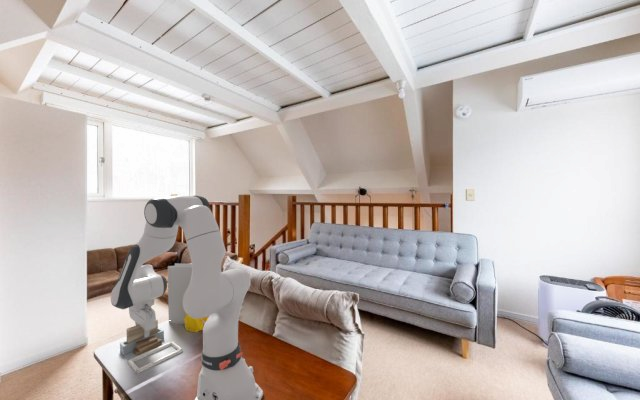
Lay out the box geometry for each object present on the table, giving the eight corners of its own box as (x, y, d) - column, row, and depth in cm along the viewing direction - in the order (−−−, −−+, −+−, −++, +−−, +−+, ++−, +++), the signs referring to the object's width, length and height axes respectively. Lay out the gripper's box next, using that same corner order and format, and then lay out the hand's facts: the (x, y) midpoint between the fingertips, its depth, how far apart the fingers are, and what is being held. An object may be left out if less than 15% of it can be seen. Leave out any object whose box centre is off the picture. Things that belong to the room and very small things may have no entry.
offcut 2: (161, 342, 109) (161, 339, 108) (140, 352, 102) (140, 349, 102) (157, 339, 111) (157, 336, 111) (136, 349, 104) (136, 346, 104)
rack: (171, 346, 110) (170, 335, 110) (129, 364, 98) (129, 353, 98) (159, 337, 117) (159, 327, 117) (119, 353, 105) (119, 342, 105)
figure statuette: (215, 329, 123) (214, 285, 123) (203, 338, 116) (202, 291, 115) (187, 324, 129) (186, 281, 128) (174, 331, 121) (173, 286, 121)
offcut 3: (162, 346, 108) (162, 343, 108) (137, 356, 101) (137, 353, 101) (157, 342, 111) (157, 339, 111) (133, 352, 104) (133, 349, 104)
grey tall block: (201, 320, 132) (200, 264, 132) (195, 326, 127) (194, 267, 126) (175, 319, 134) (175, 263, 133) (168, 324, 128) (167, 266, 128)
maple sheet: (158, 339, 113) (157, 319, 113) (128, 351, 104) (128, 330, 104) (156, 338, 114) (155, 318, 114) (126, 350, 106) (126, 328, 105)
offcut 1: (157, 341, 107) (157, 338, 107) (137, 348, 102) (137, 345, 102) (155, 338, 110) (155, 335, 110) (135, 345, 105) (135, 342, 105)
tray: (182, 353, 104) (182, 348, 104) (137, 376, 92) (137, 370, 91) (172, 345, 110) (172, 341, 110) (128, 365, 97) (128, 360, 97)
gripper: (160, 305, 105) (160, 338, 106) (142, 294, 118) (142, 323, 118) (142, 311, 100) (143, 345, 101) (125, 298, 113) (126, 329, 113)
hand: (142, 333), depth 109 cm, fingers open, 7 cm apart
